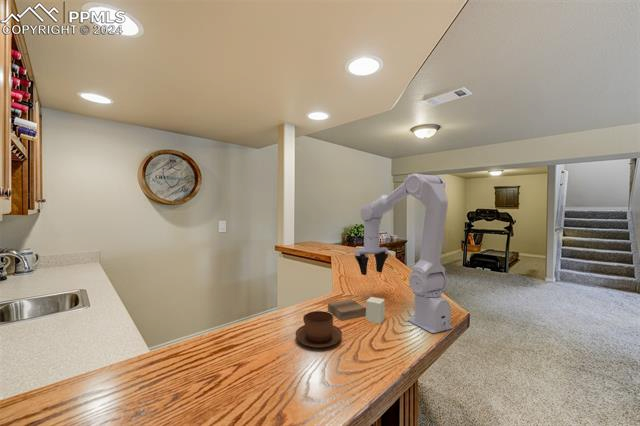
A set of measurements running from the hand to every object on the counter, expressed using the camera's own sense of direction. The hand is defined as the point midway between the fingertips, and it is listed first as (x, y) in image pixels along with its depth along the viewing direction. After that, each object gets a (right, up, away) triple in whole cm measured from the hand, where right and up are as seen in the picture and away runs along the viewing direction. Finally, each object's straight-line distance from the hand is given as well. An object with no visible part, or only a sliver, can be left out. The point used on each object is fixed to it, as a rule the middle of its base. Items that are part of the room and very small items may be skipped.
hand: (371, 273), depth 100 cm
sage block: (-3, -10, -19) cm, 21 cm away
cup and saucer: (-20, -10, -31) cm, 38 cm away
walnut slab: (-11, -10, -14) cm, 20 cm away
